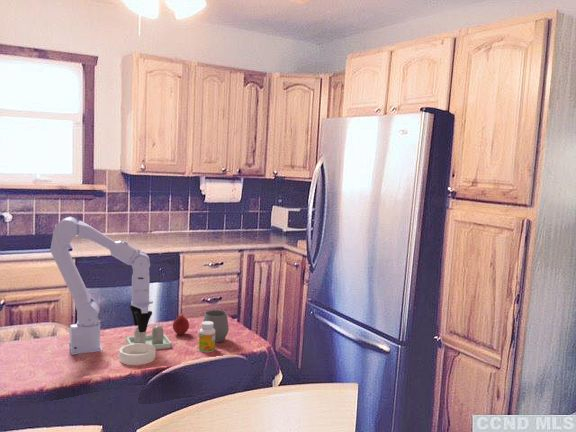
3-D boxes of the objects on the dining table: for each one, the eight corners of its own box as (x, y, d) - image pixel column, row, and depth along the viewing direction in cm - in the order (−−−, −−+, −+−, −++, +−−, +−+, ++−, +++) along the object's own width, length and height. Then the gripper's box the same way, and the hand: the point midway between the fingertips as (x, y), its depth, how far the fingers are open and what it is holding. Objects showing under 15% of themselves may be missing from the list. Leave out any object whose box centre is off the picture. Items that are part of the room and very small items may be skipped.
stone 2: (153, 345, 183) (153, 327, 182) (150, 342, 186) (151, 324, 186) (164, 344, 185) (164, 326, 184) (161, 341, 188) (162, 323, 187)
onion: (186, 338, 193) (187, 316, 192) (170, 337, 193) (171, 315, 193) (190, 333, 199) (190, 312, 198) (174, 332, 199) (175, 311, 198)
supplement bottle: (195, 352, 180) (196, 323, 179) (203, 347, 185) (204, 319, 184) (209, 354, 179) (210, 326, 178) (217, 349, 184) (218, 321, 183)
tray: (132, 353, 176) (132, 347, 176) (126, 342, 186) (126, 337, 186) (171, 348, 182) (171, 343, 182) (163, 338, 192) (163, 333, 192)
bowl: (122, 368, 164) (122, 357, 164) (116, 356, 174) (116, 345, 173) (158, 363, 169) (158, 352, 169) (150, 352, 179) (150, 341, 178)
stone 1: (135, 347, 180) (135, 329, 180) (132, 344, 184) (133, 326, 183) (146, 346, 182) (146, 328, 181) (144, 343, 185) (144, 325, 185)
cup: (231, 337, 196) (232, 310, 195) (224, 346, 187) (224, 318, 186) (206, 335, 198) (207, 308, 197) (197, 343, 189) (198, 315, 188)
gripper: (157, 293, 176) (157, 333, 178) (148, 283, 189) (147, 321, 190) (135, 294, 173) (135, 336, 174) (127, 284, 186) (127, 323, 187)
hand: (140, 328), depth 182 cm, fingers open, 7 cm apart
